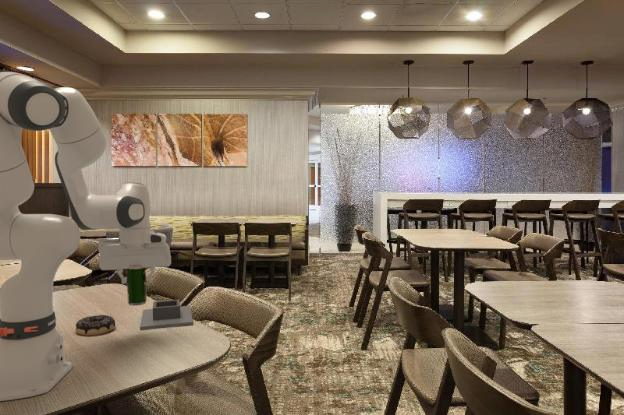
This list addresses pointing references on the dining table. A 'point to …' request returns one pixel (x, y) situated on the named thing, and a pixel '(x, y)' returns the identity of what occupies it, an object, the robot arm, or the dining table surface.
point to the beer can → (136, 285)
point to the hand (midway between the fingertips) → (136, 283)
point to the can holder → (166, 315)
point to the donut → (95, 325)
